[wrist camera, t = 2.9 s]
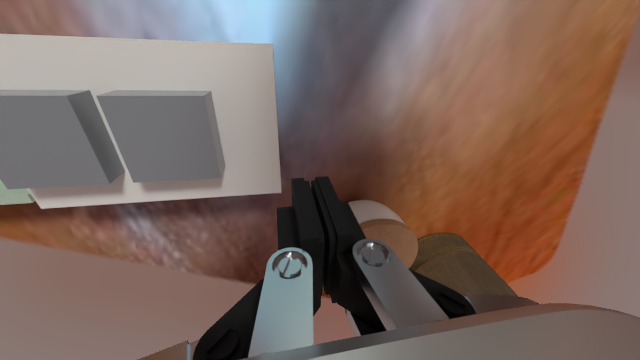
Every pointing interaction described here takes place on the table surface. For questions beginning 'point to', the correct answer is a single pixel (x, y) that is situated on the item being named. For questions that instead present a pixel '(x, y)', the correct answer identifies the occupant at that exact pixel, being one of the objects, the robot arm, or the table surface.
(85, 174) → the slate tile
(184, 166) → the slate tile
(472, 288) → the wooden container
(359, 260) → the robot arm
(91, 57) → the white rectangular block
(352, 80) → the table surface
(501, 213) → the table surface
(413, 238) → the lidded jar
